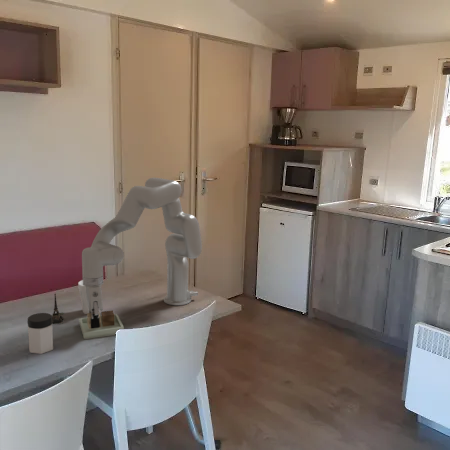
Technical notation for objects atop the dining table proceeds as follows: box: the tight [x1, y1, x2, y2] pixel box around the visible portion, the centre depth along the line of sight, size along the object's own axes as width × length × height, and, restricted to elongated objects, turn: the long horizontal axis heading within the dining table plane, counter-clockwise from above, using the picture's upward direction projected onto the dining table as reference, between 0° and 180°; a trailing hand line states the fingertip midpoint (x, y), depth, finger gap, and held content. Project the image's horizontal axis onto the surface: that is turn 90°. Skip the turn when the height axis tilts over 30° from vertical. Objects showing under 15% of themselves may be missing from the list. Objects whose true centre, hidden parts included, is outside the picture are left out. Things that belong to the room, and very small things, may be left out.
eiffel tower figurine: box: [51, 293, 65, 325], centre depth 194 cm, size 15×10×13 cm
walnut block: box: [100, 310, 115, 327], centre depth 192 cm, size 4×4×4 cm
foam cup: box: [77, 279, 89, 315], centre depth 205 cm, size 10×9×13 cm
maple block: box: [86, 312, 101, 329], centre depth 185 cm, size 4×4×4 cm
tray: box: [78, 313, 125, 340], centre depth 189 cm, size 15×14×3 cm
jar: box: [27, 312, 54, 355], centre depth 171 cm, size 9×8×12 cm
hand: (94, 324), depth 185 cm, fingers closed on maple block, 4 cm apart
